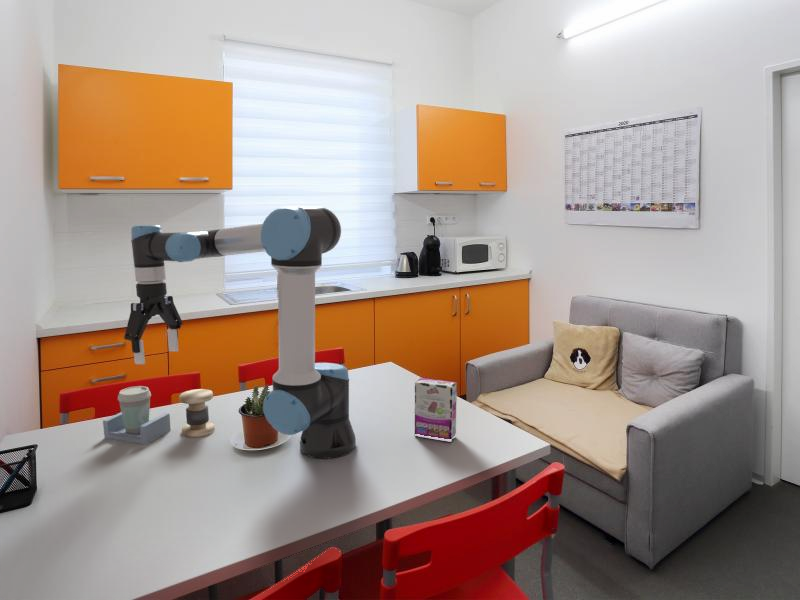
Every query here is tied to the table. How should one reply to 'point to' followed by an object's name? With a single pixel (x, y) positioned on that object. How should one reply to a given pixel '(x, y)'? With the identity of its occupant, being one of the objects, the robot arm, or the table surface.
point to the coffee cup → (134, 407)
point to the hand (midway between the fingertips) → (157, 357)
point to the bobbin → (197, 413)
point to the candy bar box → (435, 408)
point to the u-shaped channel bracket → (148, 431)
